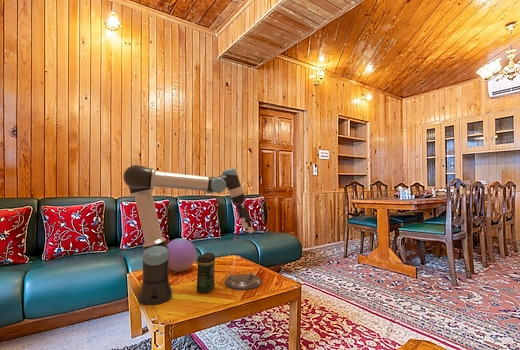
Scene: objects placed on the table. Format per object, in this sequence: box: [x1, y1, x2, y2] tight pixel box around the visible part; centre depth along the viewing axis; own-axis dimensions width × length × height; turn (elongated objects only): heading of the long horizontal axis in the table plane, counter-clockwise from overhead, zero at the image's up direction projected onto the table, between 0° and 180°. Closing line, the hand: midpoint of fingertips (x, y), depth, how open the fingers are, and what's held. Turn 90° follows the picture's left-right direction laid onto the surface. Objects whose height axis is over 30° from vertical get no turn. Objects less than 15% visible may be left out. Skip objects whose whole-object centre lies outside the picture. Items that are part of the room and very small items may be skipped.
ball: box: [167, 237, 197, 273], centre depth 177 cm, size 20×20×20 cm
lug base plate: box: [224, 272, 262, 291], centre depth 157 cm, size 20×20×3 cm
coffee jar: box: [196, 252, 216, 294], centre depth 147 cm, size 10×8×19 cm
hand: (248, 230), depth 163 cm, fingers open, 13 cm apart
